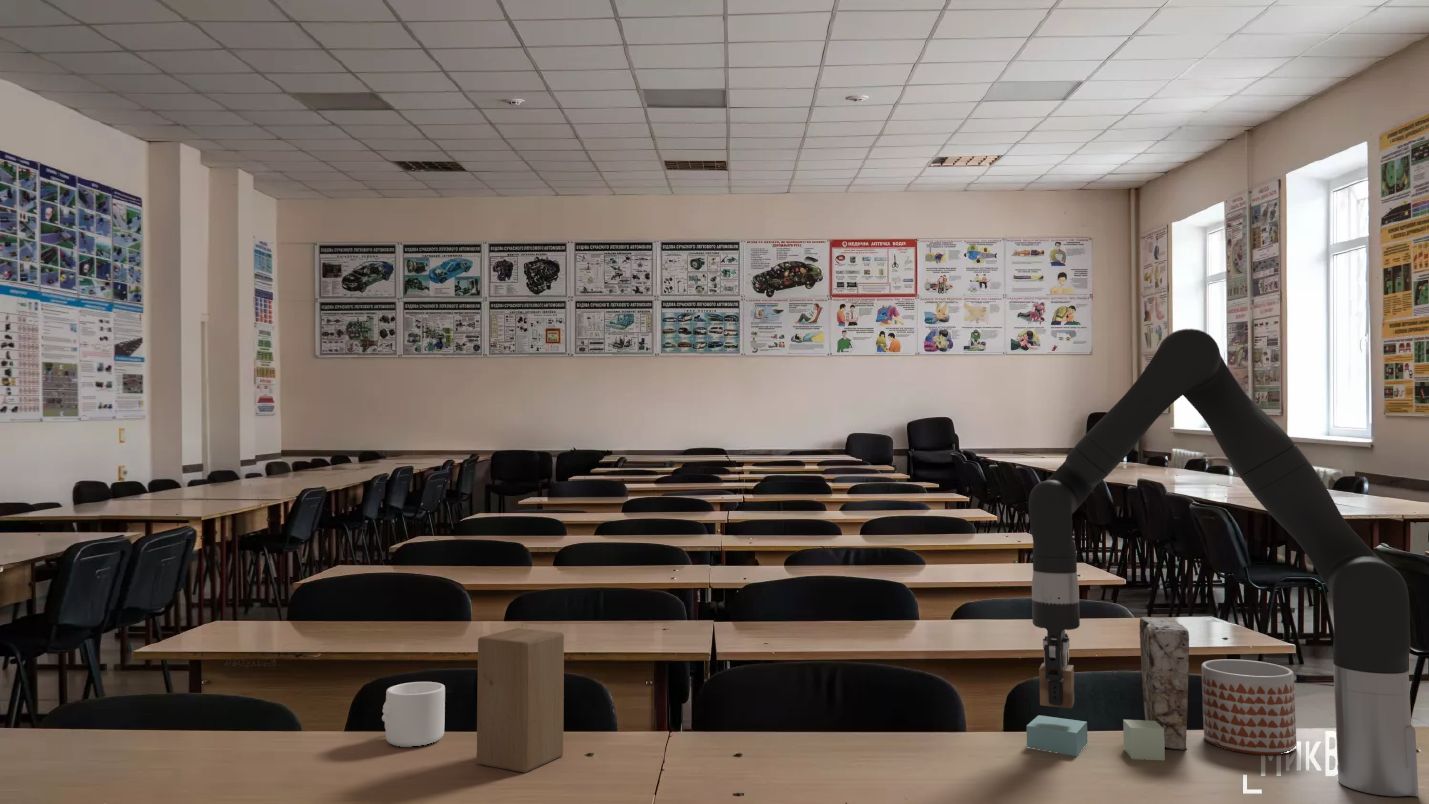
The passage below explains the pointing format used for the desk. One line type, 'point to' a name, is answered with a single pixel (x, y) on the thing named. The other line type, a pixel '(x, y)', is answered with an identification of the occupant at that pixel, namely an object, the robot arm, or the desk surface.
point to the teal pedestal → (1057, 735)
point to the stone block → (1165, 677)
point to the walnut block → (1067, 686)
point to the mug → (414, 713)
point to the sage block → (1144, 739)
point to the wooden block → (520, 699)
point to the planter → (1249, 706)
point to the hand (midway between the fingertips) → (1057, 700)
